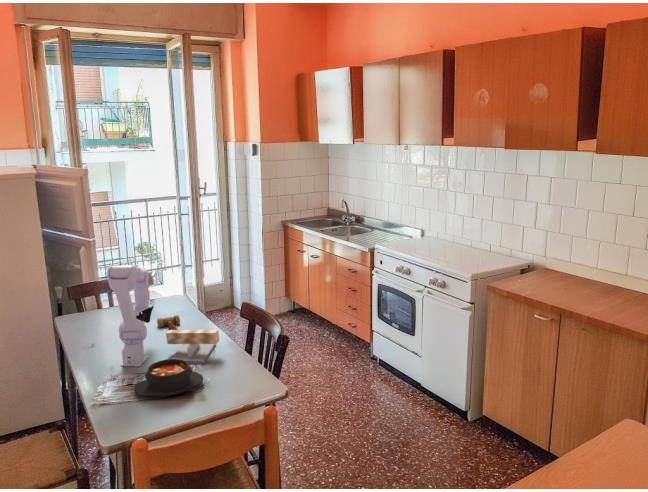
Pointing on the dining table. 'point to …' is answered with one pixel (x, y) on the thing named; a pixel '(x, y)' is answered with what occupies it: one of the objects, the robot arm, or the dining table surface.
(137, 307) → the robot arm
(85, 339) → the dining table surface
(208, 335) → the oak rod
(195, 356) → the fulcrum stand
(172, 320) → the gavel
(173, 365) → the casserole
